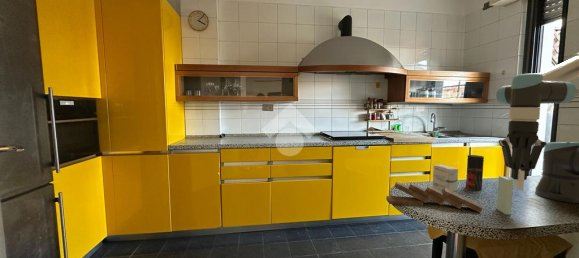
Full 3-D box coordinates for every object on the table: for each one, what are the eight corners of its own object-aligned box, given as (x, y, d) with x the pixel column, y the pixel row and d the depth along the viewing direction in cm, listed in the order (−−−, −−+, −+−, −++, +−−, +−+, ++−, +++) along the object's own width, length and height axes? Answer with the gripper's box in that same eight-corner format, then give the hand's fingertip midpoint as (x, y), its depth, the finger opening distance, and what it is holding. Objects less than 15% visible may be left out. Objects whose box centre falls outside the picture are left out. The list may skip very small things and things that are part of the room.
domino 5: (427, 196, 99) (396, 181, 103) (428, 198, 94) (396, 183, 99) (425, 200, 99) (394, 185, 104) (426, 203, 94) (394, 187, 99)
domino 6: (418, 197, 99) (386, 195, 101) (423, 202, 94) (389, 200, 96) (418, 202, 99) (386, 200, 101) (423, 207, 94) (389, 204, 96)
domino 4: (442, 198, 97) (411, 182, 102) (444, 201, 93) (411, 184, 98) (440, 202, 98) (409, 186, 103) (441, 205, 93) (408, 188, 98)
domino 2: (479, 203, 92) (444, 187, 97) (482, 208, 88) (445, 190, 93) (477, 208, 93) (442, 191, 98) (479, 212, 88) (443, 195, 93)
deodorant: (485, 190, 113) (487, 157, 112) (471, 190, 113) (473, 157, 112) (475, 186, 119) (477, 155, 118) (462, 186, 119) (464, 154, 118)
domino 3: (462, 201, 94) (428, 184, 100) (462, 204, 90) (427, 187, 96) (459, 205, 95) (426, 188, 101) (459, 209, 90) (425, 191, 97)
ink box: (457, 197, 104) (459, 168, 104) (447, 197, 103) (449, 169, 103) (441, 190, 113) (442, 164, 112) (431, 191, 112) (432, 164, 111)
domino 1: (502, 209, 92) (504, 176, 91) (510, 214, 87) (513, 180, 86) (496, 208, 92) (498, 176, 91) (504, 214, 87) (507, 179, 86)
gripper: (538, 120, 88) (532, 187, 90) (495, 119, 91) (490, 184, 93) (555, 121, 81) (549, 193, 83) (507, 120, 84) (502, 190, 86)
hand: (518, 188), depth 88 cm, fingers closed
